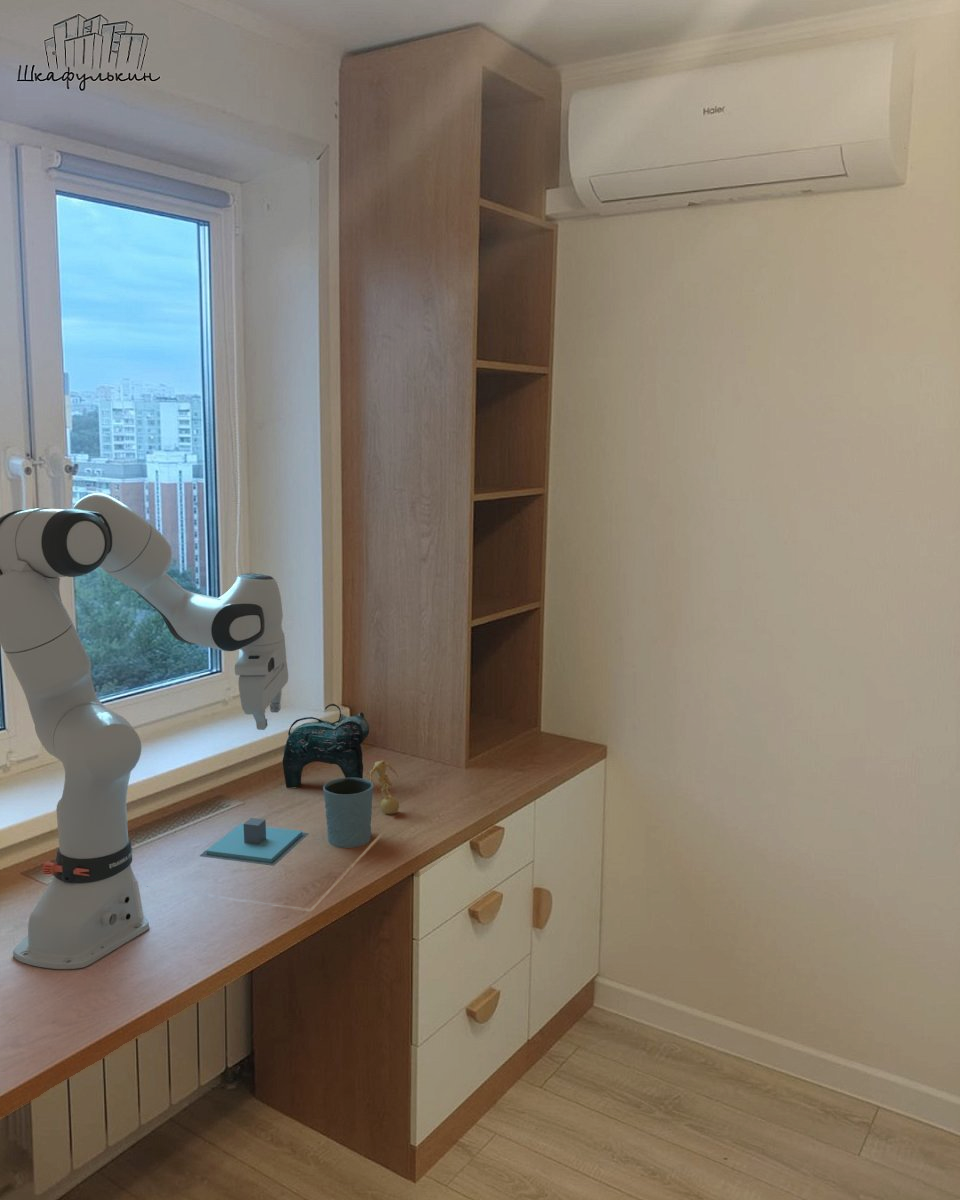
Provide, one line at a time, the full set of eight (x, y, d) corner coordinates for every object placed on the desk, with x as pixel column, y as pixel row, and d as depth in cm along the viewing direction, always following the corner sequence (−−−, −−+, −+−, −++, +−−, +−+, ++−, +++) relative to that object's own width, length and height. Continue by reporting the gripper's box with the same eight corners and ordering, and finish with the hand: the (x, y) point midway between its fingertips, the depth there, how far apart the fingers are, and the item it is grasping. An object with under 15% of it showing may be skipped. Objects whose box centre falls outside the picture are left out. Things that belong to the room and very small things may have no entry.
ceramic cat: (371, 784, 251) (369, 701, 247) (365, 794, 244) (363, 709, 241) (288, 780, 253) (285, 698, 249) (280, 790, 247) (277, 706, 243)
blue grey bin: (329, 854, 212) (328, 796, 210) (320, 834, 222) (318, 779, 219) (379, 847, 215) (378, 791, 213) (368, 828, 225) (367, 774, 223)
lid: (271, 862, 207) (270, 839, 206) (206, 854, 211) (205, 831, 210) (302, 834, 220) (301, 812, 219) (240, 827, 224) (239, 805, 223)
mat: (273, 868, 206) (273, 865, 206) (199, 858, 210) (199, 855, 210) (308, 836, 221) (308, 833, 221) (238, 827, 225) (238, 824, 225)
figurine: (383, 822, 228) (382, 768, 226) (363, 815, 232) (362, 762, 230) (409, 810, 235) (408, 758, 232) (388, 804, 238) (388, 752, 236)
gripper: (262, 638, 221) (268, 701, 224) (231, 670, 201) (238, 738, 205) (292, 638, 220) (298, 701, 224) (264, 669, 200) (270, 738, 204)
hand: (269, 719), depth 214 cm, fingers open, 8 cm apart
